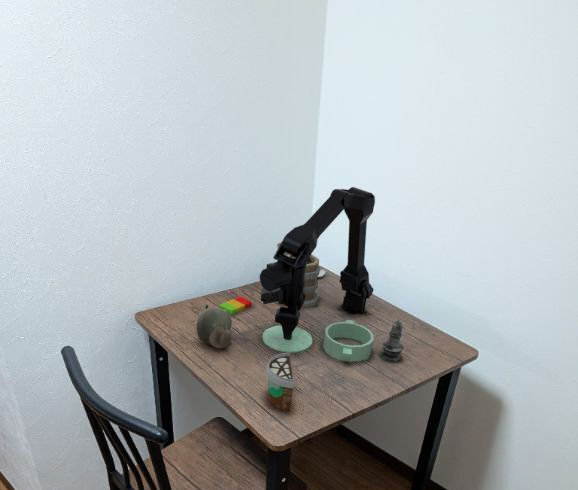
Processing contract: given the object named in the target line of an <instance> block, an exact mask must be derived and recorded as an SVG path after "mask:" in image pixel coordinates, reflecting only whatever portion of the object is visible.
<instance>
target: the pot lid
mask: <svg viewBox="0 0 578 490" xmlns="http://www.w3.org/2000/svg"><path fill="white" fill-rule="evenodd" d="M262 342H263V343H264V344H265V345H266V346H267V347H268V348H270V349H272V350H273V351H277V352H281V353H290V354H291V353H293V354H294V353H301V352H304V351H306V350H309V348H311V346H312V345H313V337H312V335H311V334H310V333H309V332H308V331H307V330H305V329H303V328H301V327H298V326H296V328H295V329H294V331H293V332H292V334H291V336H290V337H289V339H288V340H286V339H284V336H283V331H282V326H281V324H279V325H275V326H271V327H269V328H267V329H265V330H264V331H263V333H262Z"/></svg>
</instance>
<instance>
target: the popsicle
mask: <svg viewBox="0 0 578 490" xmlns="http://www.w3.org/2000/svg"><path fill="white" fill-rule="evenodd" d="M251 307H252V301H251V300H250V299H248V298H246V297H243V296H237V297H234V298H233V299H230V300H228V301H225V302H222V303H221V304H219V308H221V309H223V310H225V311H226V312H227V313H228V314H229V315H230V316H232V315H235V314H237V313H239V312H241V311H244V310H246V309H248V308H251Z"/></svg>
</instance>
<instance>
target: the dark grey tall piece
mask: <svg viewBox="0 0 578 490" xmlns="http://www.w3.org/2000/svg"><path fill="white" fill-rule="evenodd" d="M403 326H404V325H403V323H402V322H401V320H400V319H397V321H396V320H395V321H394V322H393V323H392V325H391V330H390V331H389V333H388V334H389V338H388V340H384V341H383V342H382V350H383V352H382V353H381V354H380V356H381V358H382V359H383V360H384V361H387V362H389V363H397V362H398V361H400V359H401V356H400V354H401V353H402V351H403V350H404V345H403V344H402V343H401V338H402V337H403V333H402V331H403Z"/></svg>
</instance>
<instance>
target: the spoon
mask: <svg viewBox="0 0 578 490" xmlns="http://www.w3.org/2000/svg"><path fill="white" fill-rule="evenodd" d="M324 275H326V270H325V269H320V273H319V275H318V277H317V278H321V277H324Z"/></svg>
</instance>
